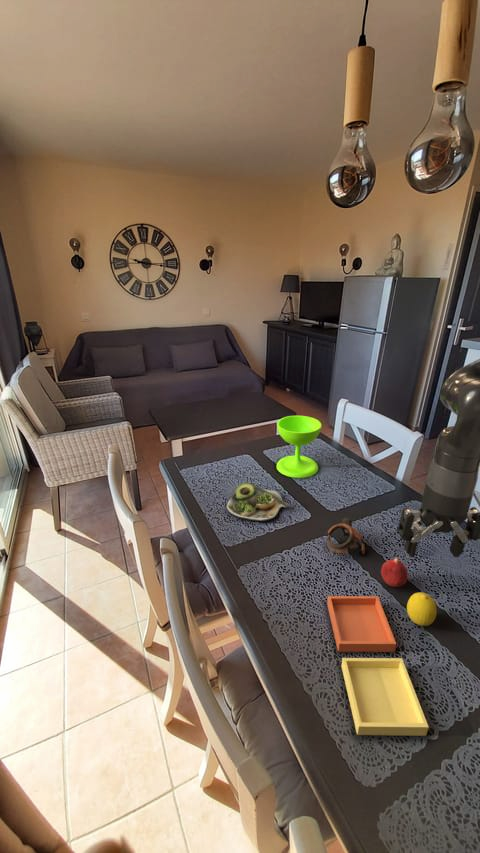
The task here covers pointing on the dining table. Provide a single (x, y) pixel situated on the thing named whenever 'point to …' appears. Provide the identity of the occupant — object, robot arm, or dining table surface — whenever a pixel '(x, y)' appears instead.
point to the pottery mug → (349, 532)
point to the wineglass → (298, 445)
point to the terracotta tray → (360, 624)
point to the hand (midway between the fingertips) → (432, 553)
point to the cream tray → (383, 697)
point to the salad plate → (254, 503)
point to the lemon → (421, 609)
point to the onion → (394, 573)
